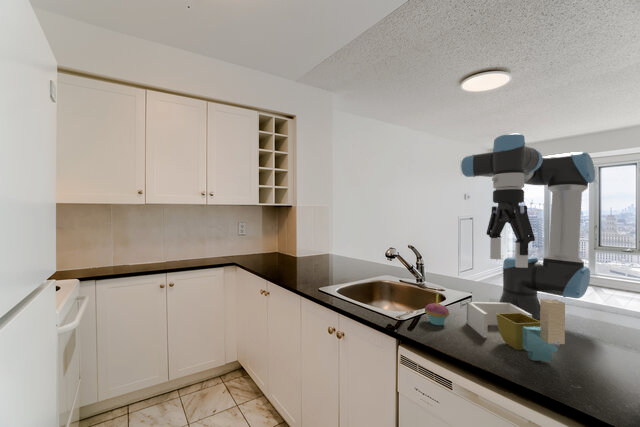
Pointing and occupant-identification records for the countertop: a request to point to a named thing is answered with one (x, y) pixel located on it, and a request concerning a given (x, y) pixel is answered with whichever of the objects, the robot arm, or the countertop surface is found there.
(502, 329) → the flower pot
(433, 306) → the cupcake
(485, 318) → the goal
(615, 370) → the countertop surface
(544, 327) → the rod
